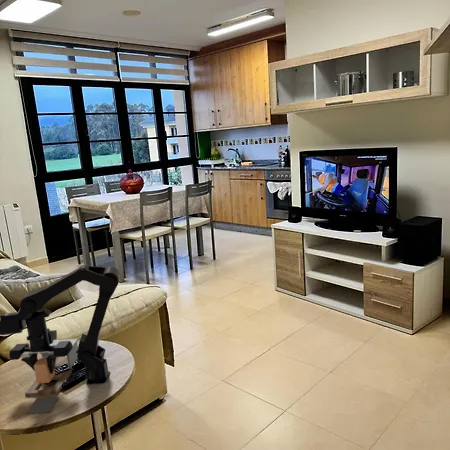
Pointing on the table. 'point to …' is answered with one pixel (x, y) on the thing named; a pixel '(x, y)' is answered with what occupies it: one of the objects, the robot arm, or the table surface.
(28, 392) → the puzzle board
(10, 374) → the table surface
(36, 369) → the block
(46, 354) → the cover
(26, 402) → the table surface
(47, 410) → the mat
